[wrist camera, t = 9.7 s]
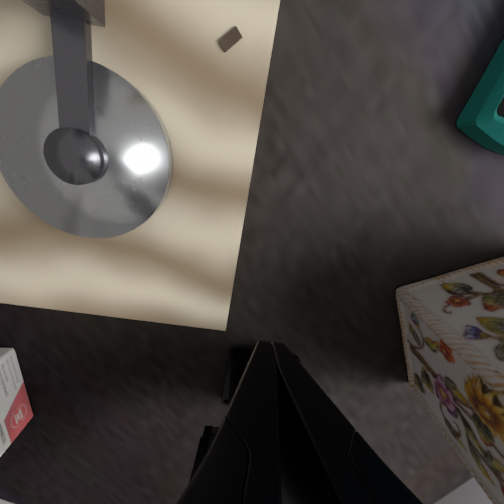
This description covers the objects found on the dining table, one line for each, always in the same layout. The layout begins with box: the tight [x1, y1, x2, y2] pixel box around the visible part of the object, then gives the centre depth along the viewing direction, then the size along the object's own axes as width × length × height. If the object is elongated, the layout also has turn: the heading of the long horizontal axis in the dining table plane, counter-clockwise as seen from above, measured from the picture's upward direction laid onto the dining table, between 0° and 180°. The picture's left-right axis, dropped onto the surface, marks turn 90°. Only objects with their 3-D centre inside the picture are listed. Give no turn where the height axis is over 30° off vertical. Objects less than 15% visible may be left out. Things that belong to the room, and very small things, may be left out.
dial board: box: [0, 0, 280, 331], centre depth 18 cm, size 24×20×2 cm
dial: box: [0, 0, 174, 238], centre depth 14 cm, size 14×10×5 cm
